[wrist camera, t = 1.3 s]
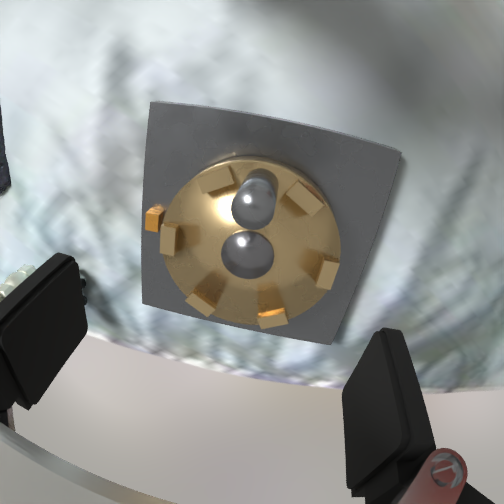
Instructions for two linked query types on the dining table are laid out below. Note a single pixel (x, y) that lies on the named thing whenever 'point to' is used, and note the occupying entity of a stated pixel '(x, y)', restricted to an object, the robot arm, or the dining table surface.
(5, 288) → the valve
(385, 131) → the dining table surface
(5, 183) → the dark slate chunk
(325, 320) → the housing
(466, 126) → the dining table surface
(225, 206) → the brass crank wheel
